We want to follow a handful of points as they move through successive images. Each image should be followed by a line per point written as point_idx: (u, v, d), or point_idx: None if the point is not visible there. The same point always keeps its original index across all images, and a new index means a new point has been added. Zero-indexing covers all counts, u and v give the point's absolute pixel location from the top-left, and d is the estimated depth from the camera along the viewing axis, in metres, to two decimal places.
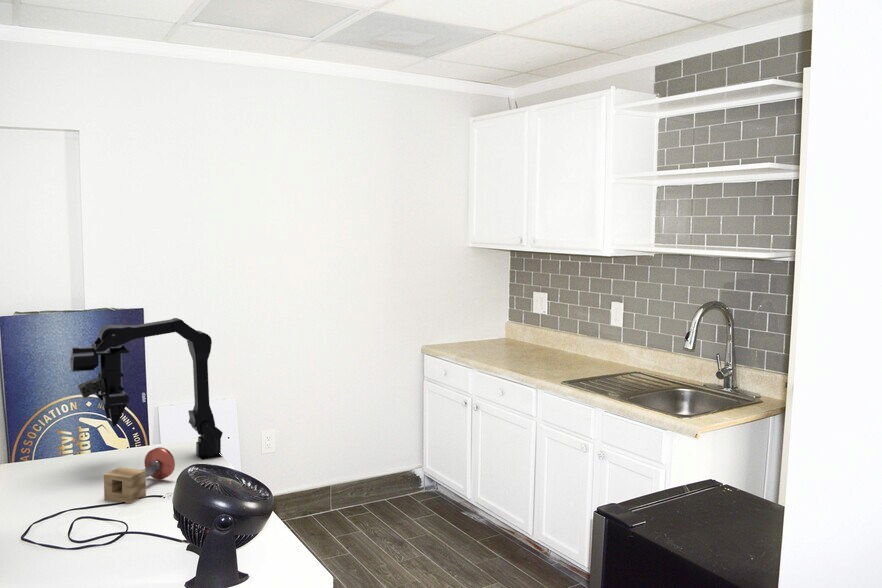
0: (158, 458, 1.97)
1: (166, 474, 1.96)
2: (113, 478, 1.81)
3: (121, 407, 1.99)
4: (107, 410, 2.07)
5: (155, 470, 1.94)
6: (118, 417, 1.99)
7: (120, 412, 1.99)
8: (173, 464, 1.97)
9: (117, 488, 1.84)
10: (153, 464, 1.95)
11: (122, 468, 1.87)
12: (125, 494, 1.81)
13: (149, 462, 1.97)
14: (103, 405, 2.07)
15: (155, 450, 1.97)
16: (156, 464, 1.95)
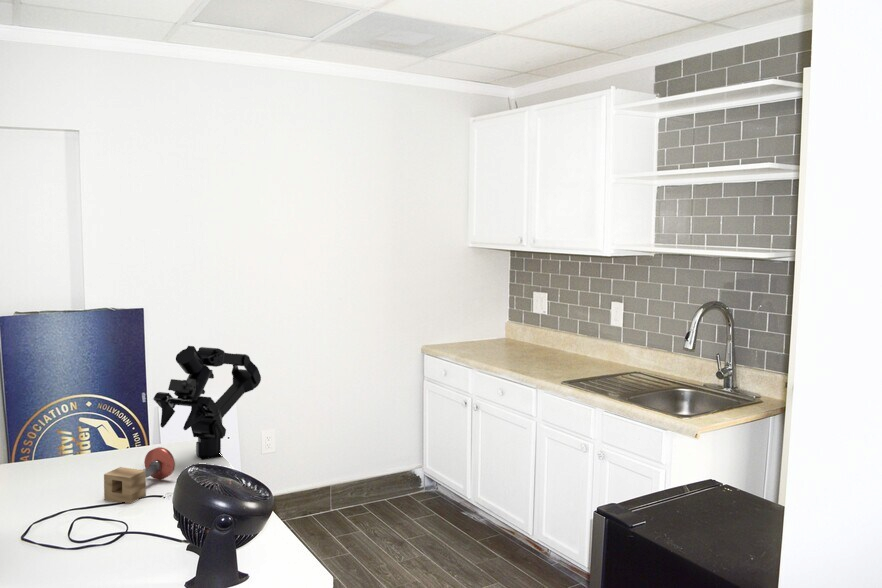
0: (158, 458, 1.97)
1: (166, 474, 1.96)
2: (113, 478, 1.81)
3: (200, 416, 2.06)
4: (165, 419, 2.05)
5: (155, 470, 1.94)
6: (191, 423, 2.04)
7: (196, 420, 2.05)
8: (173, 464, 1.97)
9: (117, 488, 1.84)
10: (153, 464, 1.95)
11: (122, 468, 1.87)
12: (125, 494, 1.81)
13: (149, 462, 1.97)
14: (163, 413, 2.05)
15: (155, 450, 1.97)
16: (156, 464, 1.95)
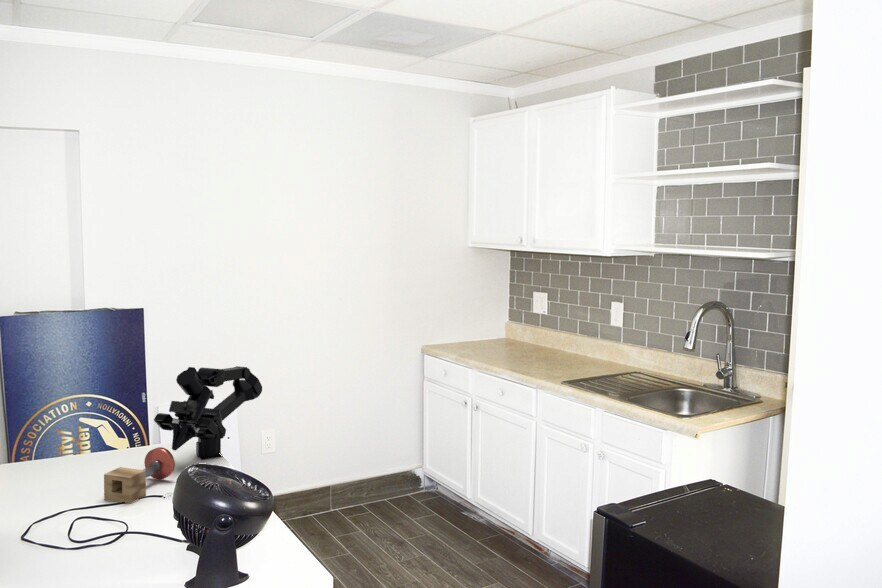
0: (158, 458, 1.97)
1: (166, 474, 1.96)
2: (113, 478, 1.81)
3: (190, 436, 2.07)
4: None
5: (155, 470, 1.94)
6: (181, 443, 2.05)
7: (186, 440, 2.06)
8: (173, 464, 1.97)
9: (117, 488, 1.84)
10: (153, 464, 1.95)
11: (122, 468, 1.87)
12: (125, 494, 1.81)
13: (149, 462, 1.97)
14: (174, 435, 2.05)
15: (155, 450, 1.97)
16: (156, 464, 1.95)
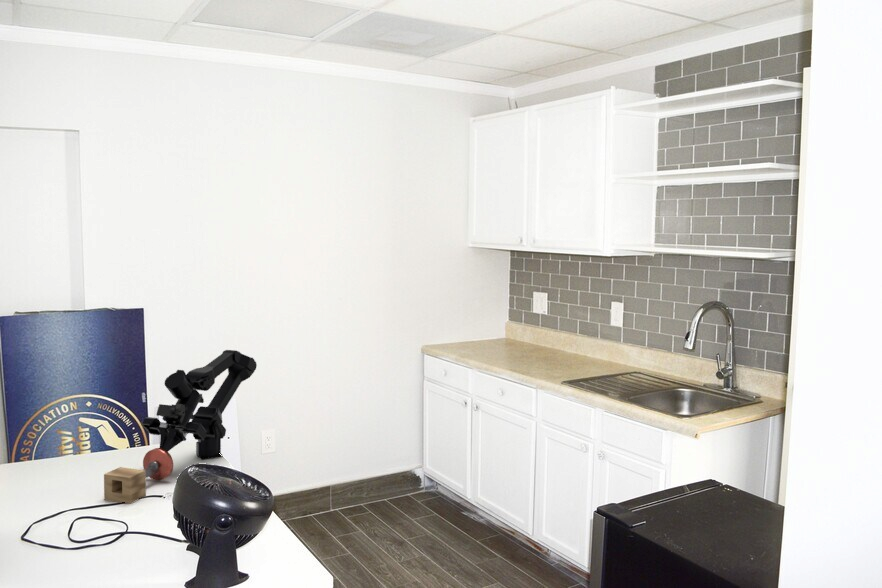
0: (156, 459, 1.96)
1: (165, 475, 1.96)
2: (113, 478, 1.81)
3: (178, 441, 2.02)
4: None
5: (153, 471, 1.94)
6: (169, 448, 2.00)
7: (173, 445, 2.01)
8: (172, 465, 1.96)
9: (117, 488, 1.84)
10: (151, 465, 1.95)
11: (122, 468, 1.87)
12: (125, 494, 1.81)
13: (147, 463, 1.97)
14: (161, 440, 1.99)
15: (153, 451, 1.96)
16: (154, 465, 1.94)
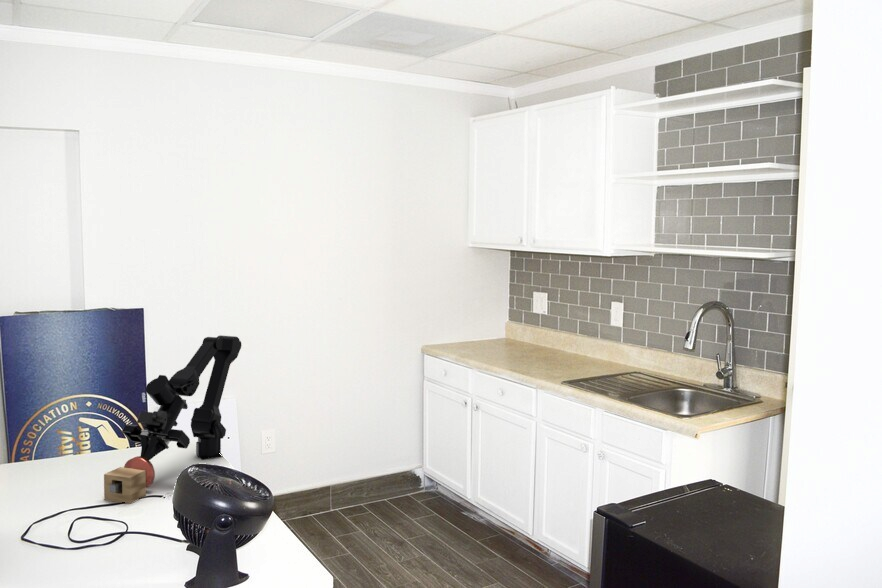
0: (137, 468, 1.88)
1: None
2: (113, 478, 1.81)
3: (160, 449, 1.94)
4: None
5: None
6: (150, 457, 1.92)
7: (155, 453, 1.93)
8: (153, 474, 1.88)
9: None
10: None
11: (122, 468, 1.87)
12: (125, 494, 1.81)
13: None
14: (143, 448, 1.92)
15: (134, 459, 1.88)
16: None
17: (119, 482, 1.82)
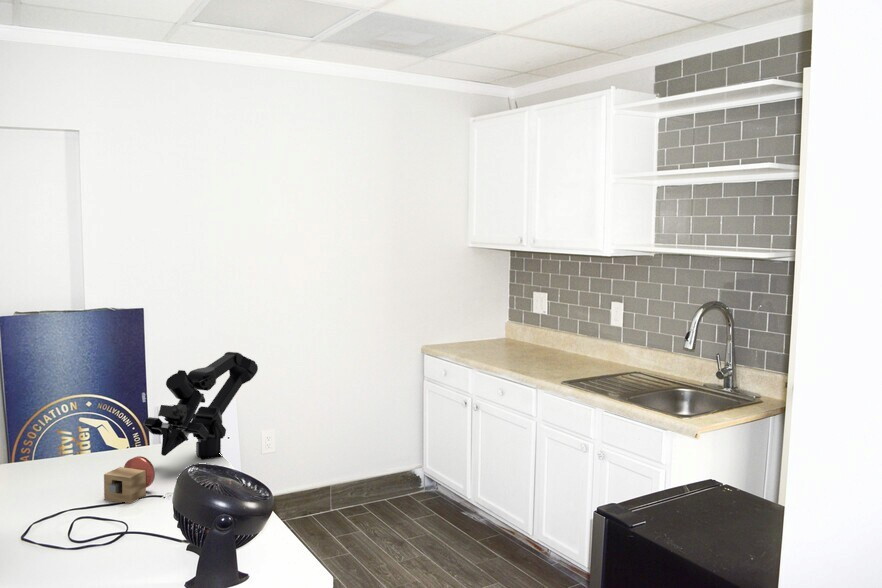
0: (137, 468, 1.88)
1: None
2: (113, 478, 1.81)
3: (180, 441, 2.03)
4: None
5: None
6: (171, 448, 2.01)
7: (176, 445, 2.02)
8: (153, 474, 1.88)
9: None
10: None
11: (122, 468, 1.87)
12: (125, 494, 1.81)
13: None
14: (164, 440, 2.00)
15: (134, 459, 1.88)
16: None
17: (119, 482, 1.82)
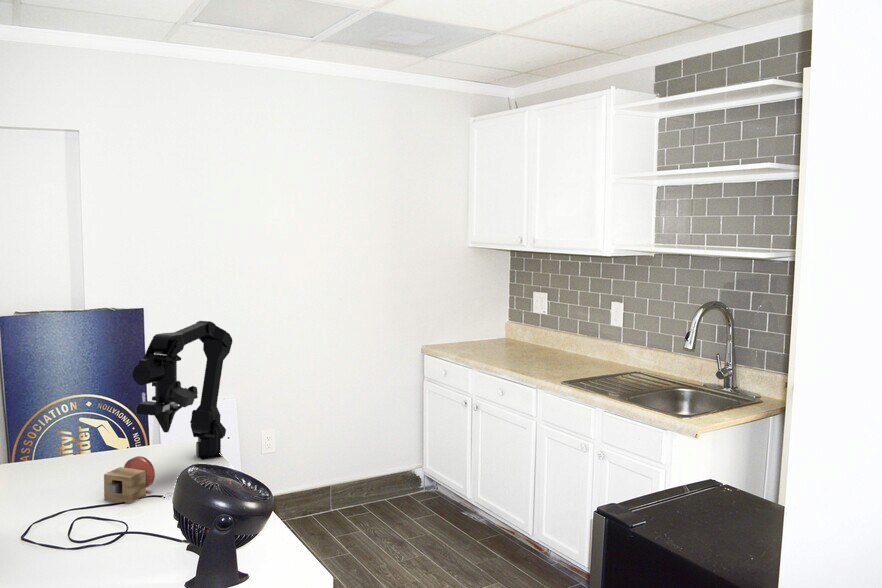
0: (137, 468, 1.88)
1: None
2: (113, 478, 1.81)
3: None
4: None
5: None
6: None
7: None
8: (153, 474, 1.88)
9: None
10: None
11: (122, 468, 1.87)
12: (125, 494, 1.81)
13: None
14: (167, 420, 1.98)
15: (134, 459, 1.88)
16: None
17: (119, 482, 1.82)
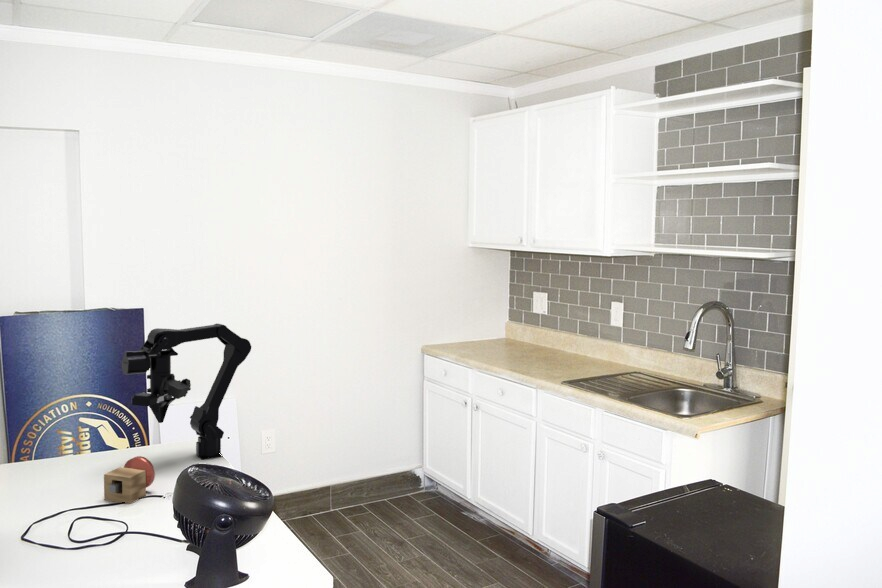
0: (137, 468, 1.88)
1: None
2: (113, 478, 1.81)
3: None
4: None
5: None
6: None
7: None
8: (153, 474, 1.88)
9: None
10: None
11: (122, 468, 1.87)
12: (125, 494, 1.81)
13: None
14: (161, 411, 2.08)
15: (134, 459, 1.88)
16: None
17: (119, 482, 1.82)
